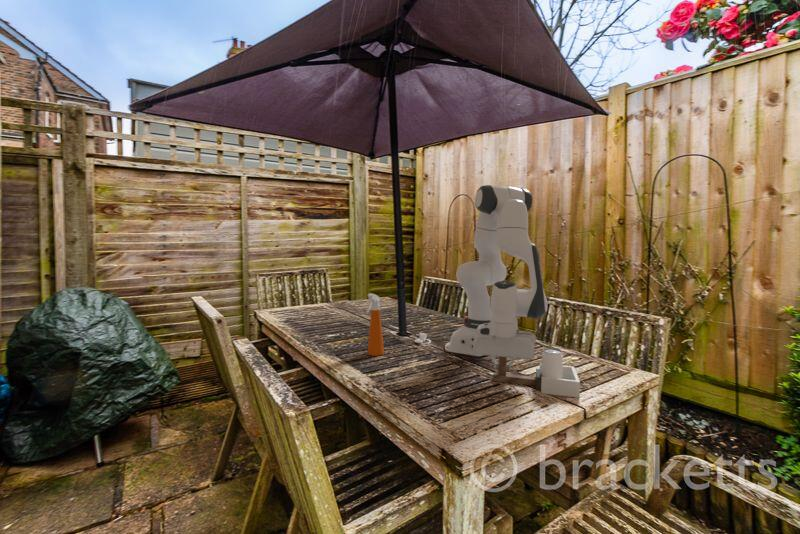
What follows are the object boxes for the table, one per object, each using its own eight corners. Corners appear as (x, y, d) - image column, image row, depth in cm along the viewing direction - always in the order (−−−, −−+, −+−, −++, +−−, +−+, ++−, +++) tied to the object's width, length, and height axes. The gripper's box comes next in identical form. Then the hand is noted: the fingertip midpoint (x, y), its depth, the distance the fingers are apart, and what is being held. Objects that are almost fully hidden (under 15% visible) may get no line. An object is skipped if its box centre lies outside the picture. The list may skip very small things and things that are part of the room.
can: (552, 391, 118) (553, 354, 117) (536, 384, 124) (537, 349, 123) (566, 387, 121) (567, 352, 120) (550, 380, 127) (551, 346, 126)
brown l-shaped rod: (492, 383, 124) (492, 357, 124) (494, 375, 132) (494, 350, 131) (541, 389, 120) (542, 362, 119) (540, 380, 127) (541, 354, 126)
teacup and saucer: (417, 345, 169) (417, 336, 169) (410, 341, 177) (410, 332, 176) (434, 343, 173) (434, 334, 172) (426, 339, 180) (426, 330, 180)
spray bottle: (359, 357, 152) (358, 293, 150) (372, 349, 162) (372, 290, 159) (374, 359, 149) (374, 295, 147) (387, 352, 159) (386, 291, 156)
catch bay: (541, 393, 117) (541, 377, 117) (539, 377, 130) (539, 363, 130) (579, 397, 114) (580, 382, 113) (573, 380, 127) (574, 366, 126)
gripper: (535, 329, 125) (534, 369, 127) (474, 324, 132) (474, 362, 133) (536, 334, 119) (535, 375, 121) (472, 329, 126) (471, 368, 127)
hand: (502, 368), depth 127 cm, fingers open, 3 cm apart
